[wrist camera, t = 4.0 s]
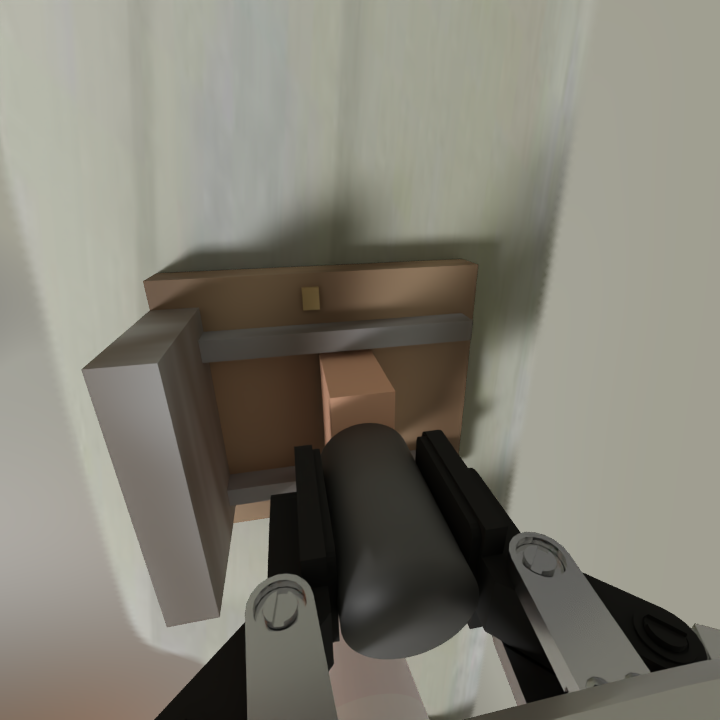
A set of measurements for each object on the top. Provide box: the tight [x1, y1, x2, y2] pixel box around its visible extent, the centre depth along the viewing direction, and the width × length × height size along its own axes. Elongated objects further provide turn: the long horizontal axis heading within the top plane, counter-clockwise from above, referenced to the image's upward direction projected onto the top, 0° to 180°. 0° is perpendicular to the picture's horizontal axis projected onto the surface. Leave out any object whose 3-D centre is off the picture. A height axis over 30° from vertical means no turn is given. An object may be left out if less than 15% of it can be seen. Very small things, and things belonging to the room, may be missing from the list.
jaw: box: [319, 349, 479, 659], centre depth 12 cm, size 3×5×9 cm, turn 0°
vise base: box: [82, 259, 478, 627], centre depth 14 cm, size 12×11×6 cm
